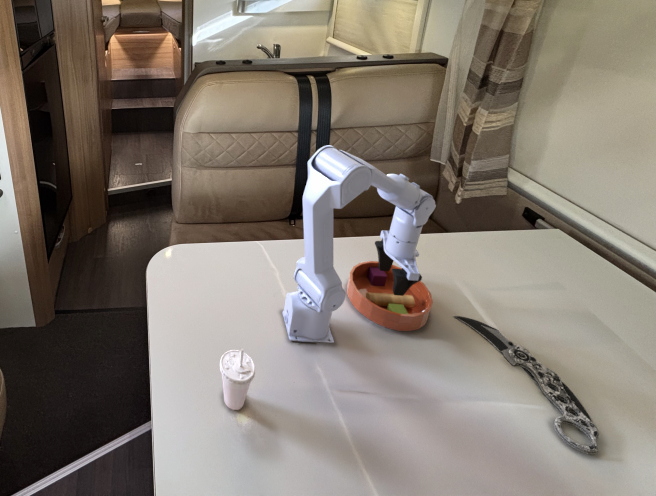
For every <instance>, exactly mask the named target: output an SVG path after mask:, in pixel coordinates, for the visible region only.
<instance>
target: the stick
mask: <svg viewBox="0 0 656 496" xmlns="http://www.w3.org/2000/svg"><path fill="white" fill-rule="evenodd" d="M366 298H367V299H368V300H369V301H371V302H372V303H374V304H375V305H377V306H388V304H401V305H404V307H406V308H414V307H415V300H414V298H413V296H412V295H403V296H400V295H394V294H386V293H370V292H367V293H366Z"/></svg>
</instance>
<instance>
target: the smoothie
mask: <svg viewBox="0 0 656 496" xmlns="http://www.w3.org/2000/svg"><path fill="white" fill-rule="evenodd" d="M219 371H220V373H221V380H222V391H223V401H224V404H225V406H226V407H228V409H230V410H232V411H239V410H242V408H243V407H244V404H245V401H246V398H247V395H248V392H249V389H250V385H251V383H252V381H253V380H254V379H255V377H256V376H255V375H256V365H255V362H254V360H253V359H252V357H251V356H250V355H249V354H247V353H246V352H245V349H244V348H243V347H241V348H240V350H239V349H229V350H227V351H226V352H224V353H223V354H222V355H221V357H220V361H219Z"/></svg>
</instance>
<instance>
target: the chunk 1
mask: <svg viewBox="0 0 656 496" xmlns="http://www.w3.org/2000/svg"><path fill="white" fill-rule="evenodd" d="M367 278H368V280H369V282H370V283H371V285H372V286H385V283H386V279H387V275H386V274H385V272H384V271H380V270H379V267H369V269H368V273H367Z"/></svg>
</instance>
